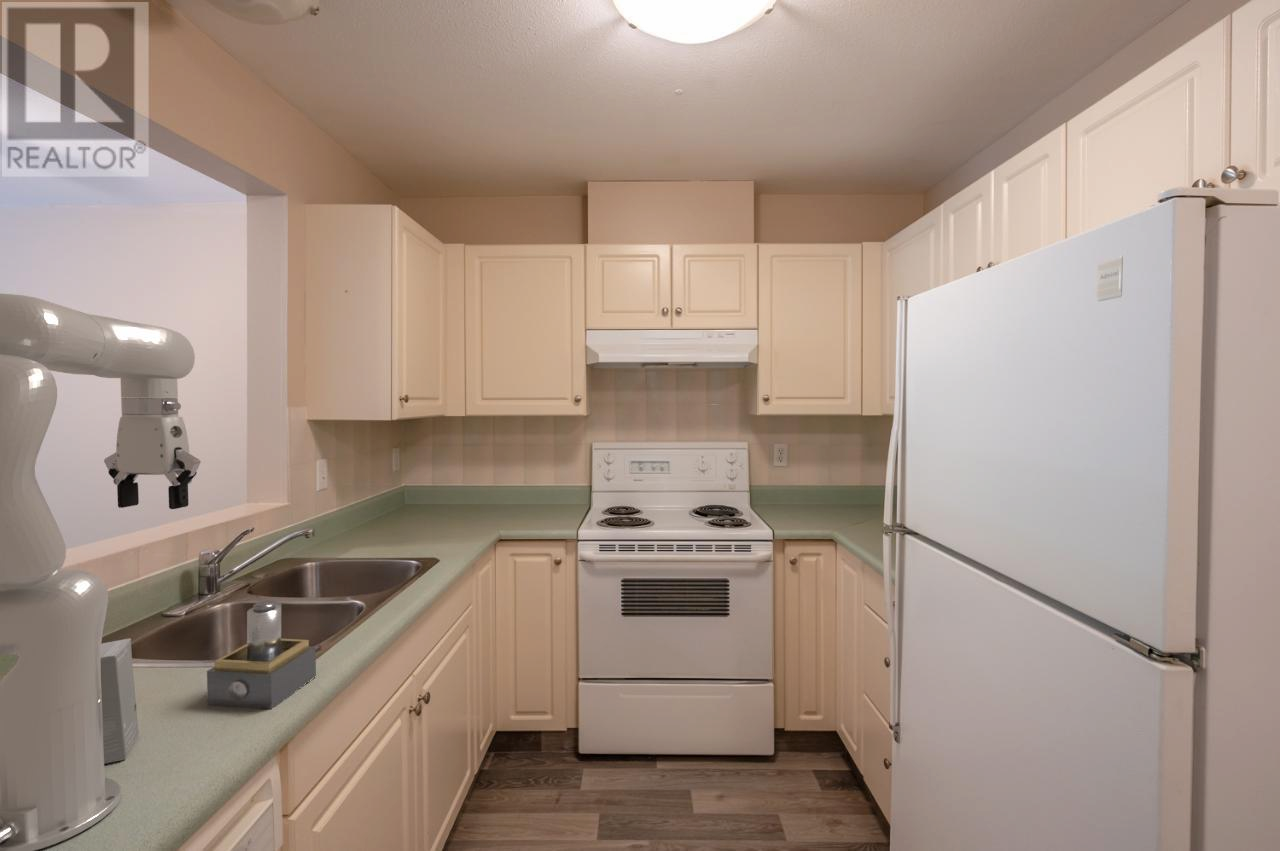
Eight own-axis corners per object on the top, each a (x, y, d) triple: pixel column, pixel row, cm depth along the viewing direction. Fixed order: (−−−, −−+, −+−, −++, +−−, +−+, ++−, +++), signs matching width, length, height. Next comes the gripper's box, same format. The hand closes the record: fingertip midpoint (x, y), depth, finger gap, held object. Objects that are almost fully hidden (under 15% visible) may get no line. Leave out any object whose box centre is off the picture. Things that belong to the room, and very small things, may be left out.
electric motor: (267, 665, 103) (268, 609, 102) (239, 663, 103) (240, 608, 103) (291, 649, 109) (292, 597, 109) (265, 648, 110) (265, 595, 109)
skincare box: (126, 761, 85) (122, 655, 85) (60, 776, 82) (55, 666, 81) (141, 732, 93) (137, 634, 92) (80, 745, 89) (76, 643, 88)
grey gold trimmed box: (269, 710, 99) (268, 667, 99) (205, 706, 100) (204, 663, 100) (316, 677, 111) (315, 638, 111) (258, 673, 112) (257, 635, 112)
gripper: (214, 409, 103) (216, 504, 104) (126, 408, 105) (130, 502, 106) (176, 409, 96) (179, 512, 97) (82, 409, 98) (86, 509, 98)
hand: (153, 507), depth 101 cm, fingers open, 9 cm apart
